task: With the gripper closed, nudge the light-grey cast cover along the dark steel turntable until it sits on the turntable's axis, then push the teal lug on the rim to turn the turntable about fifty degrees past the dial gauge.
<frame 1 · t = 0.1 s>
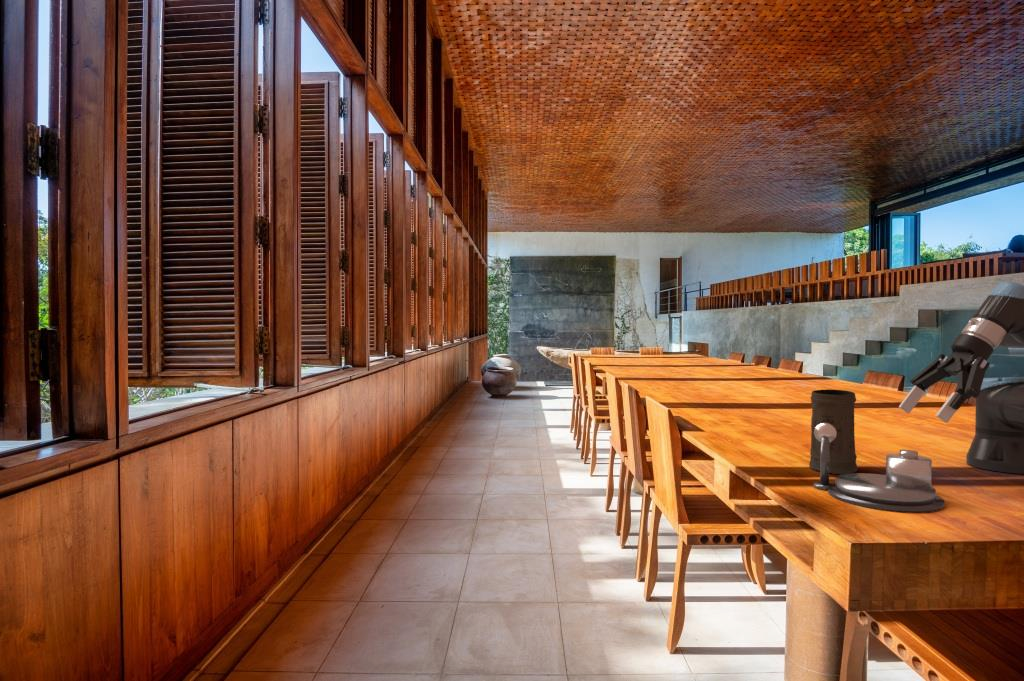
hand: (921, 414, 142), 15 cm above the table, tool tilted 35°, fingers open, 13 cm apart
beer stein: (833, 469, 153), on the table
turntable: (888, 477, 128), point 4 cm above the table, hinge at 0.0°, touching cast cover
cast cover: (908, 484, 127), point 3 cm above the table, touching turntable
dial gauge: (824, 487, 135), on the table
base plate: (883, 497, 127), on the table
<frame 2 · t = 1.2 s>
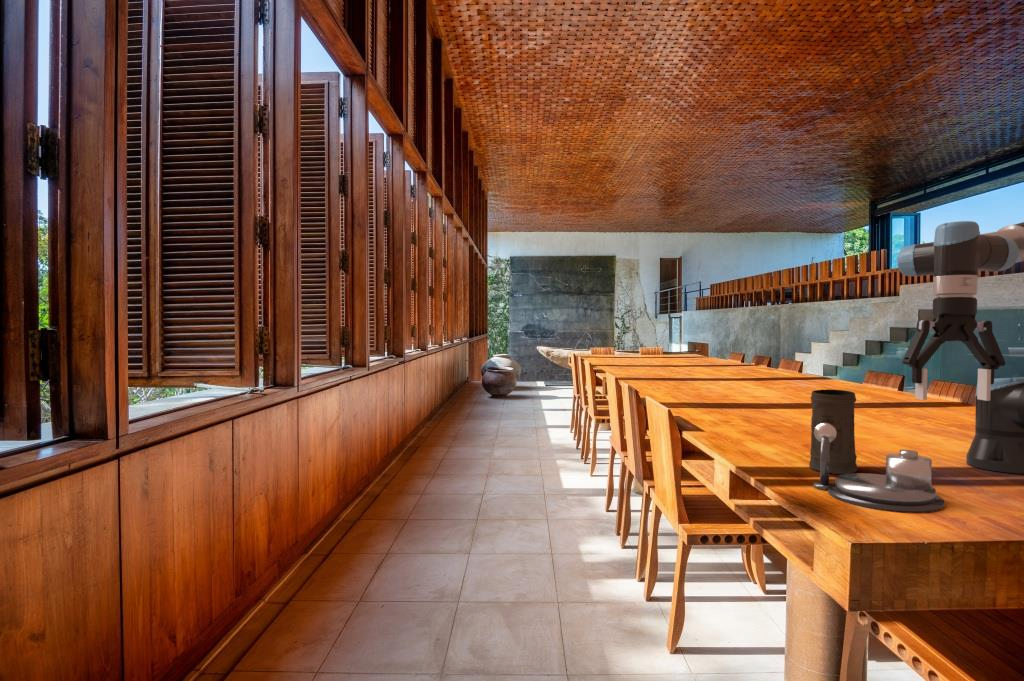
hand: (952, 399, 126), 21 cm above the table, tool pointing down, fingers open, 12 cm apart
nothing on the table moved.
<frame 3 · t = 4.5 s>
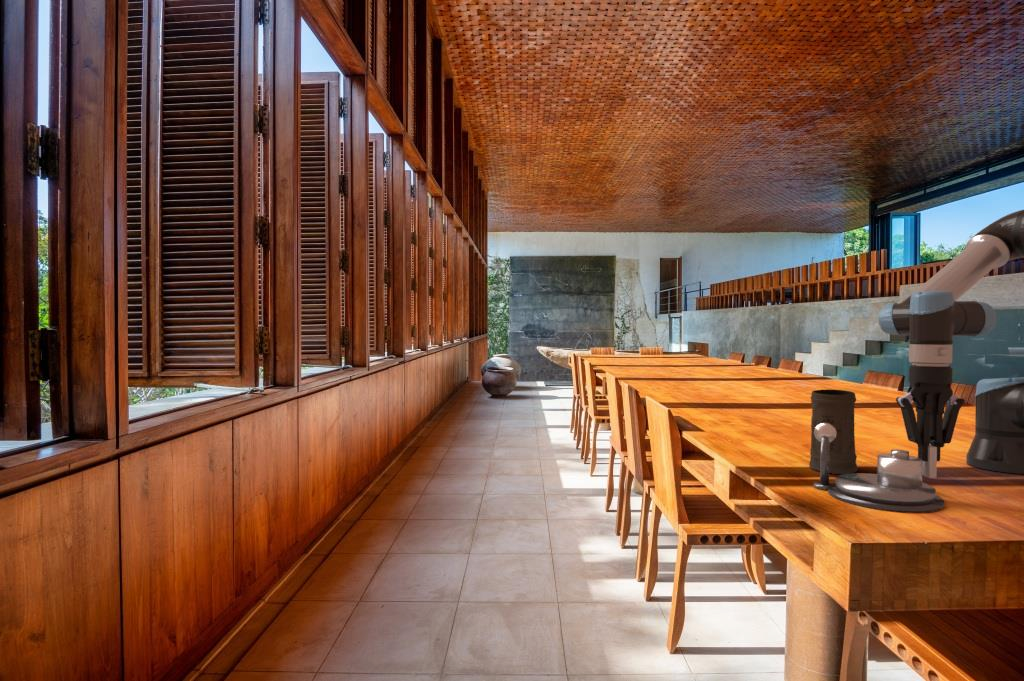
hand: (928, 476, 127), 5 cm above the table, tool pointing down, fingers closed
turntable: (888, 477, 128), point 4 cm above the table, hinge at -0.1°
cast cover: (899, 483, 127), point 3 cm above the table, touching gripper
everything else where it was.
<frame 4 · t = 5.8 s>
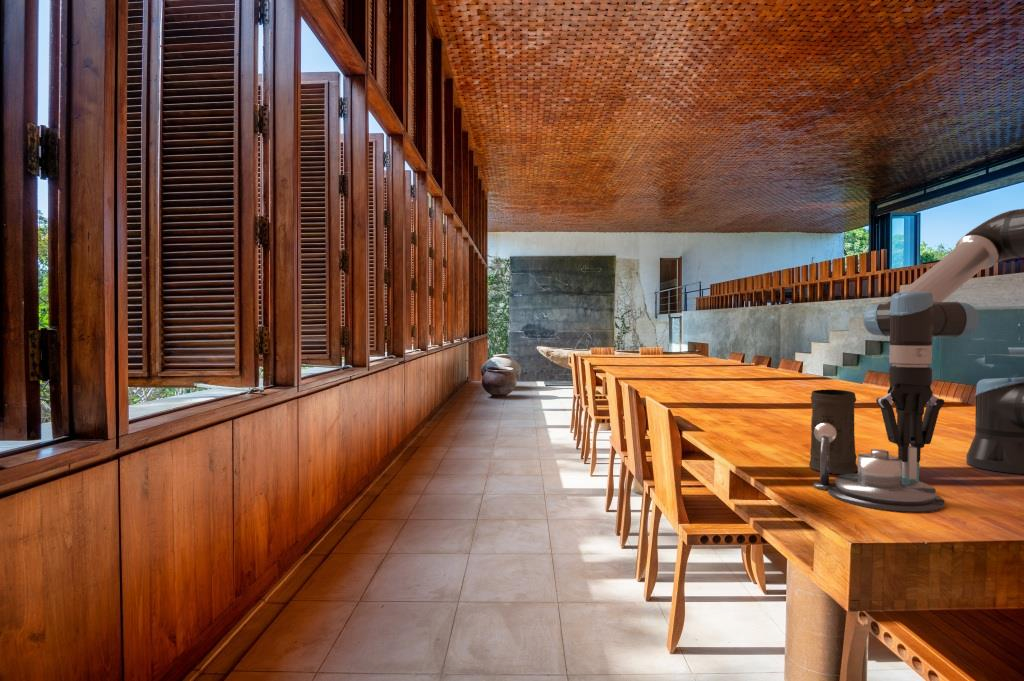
hand: (908, 477, 127), 4 cm above the table, tool pointing down, fingers closed
turntable: (888, 477, 128), point 4 cm above the table, hinge at -0.2°, touching cast cover
cast cover: (879, 483, 127), point 3 cm above the table, touching gripper, turntable
everything else where it was.
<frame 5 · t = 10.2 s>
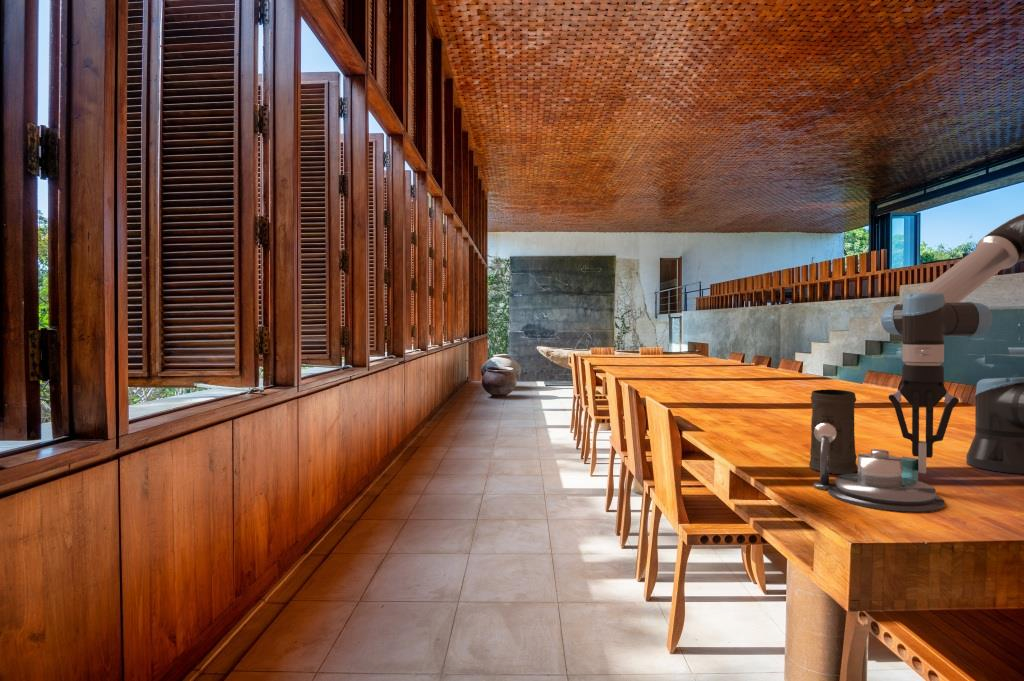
hand: (922, 471, 131), 4 cm above the table, tool pointing down, fingers closed
turntable: (887, 477, 128), point 4 cm above the table, hinge at 0.9°, touching cast cover, gripper
cast cover: (879, 483, 127), point 3 cm above the table, touching turntable
everything else where it was.
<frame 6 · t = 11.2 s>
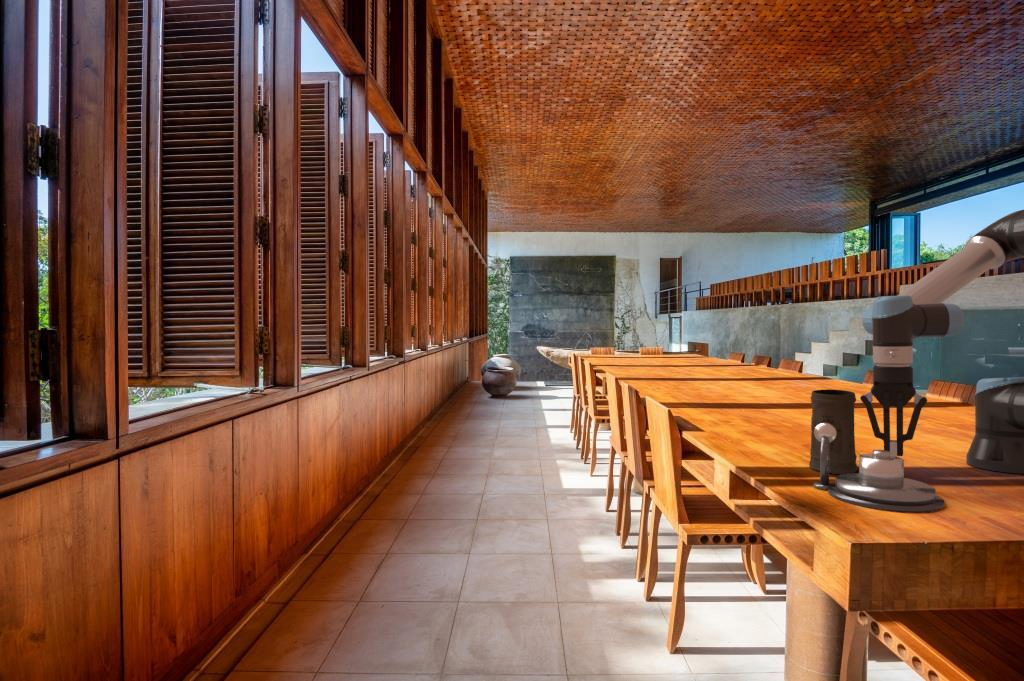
hand: (893, 469, 135), 4 cm above the table, tool pointing down, fingers closed
turntable: (883, 477, 129), point 4 cm above the table, hinge at 28.0°, touching cast cover, gripper
everything else where it was.
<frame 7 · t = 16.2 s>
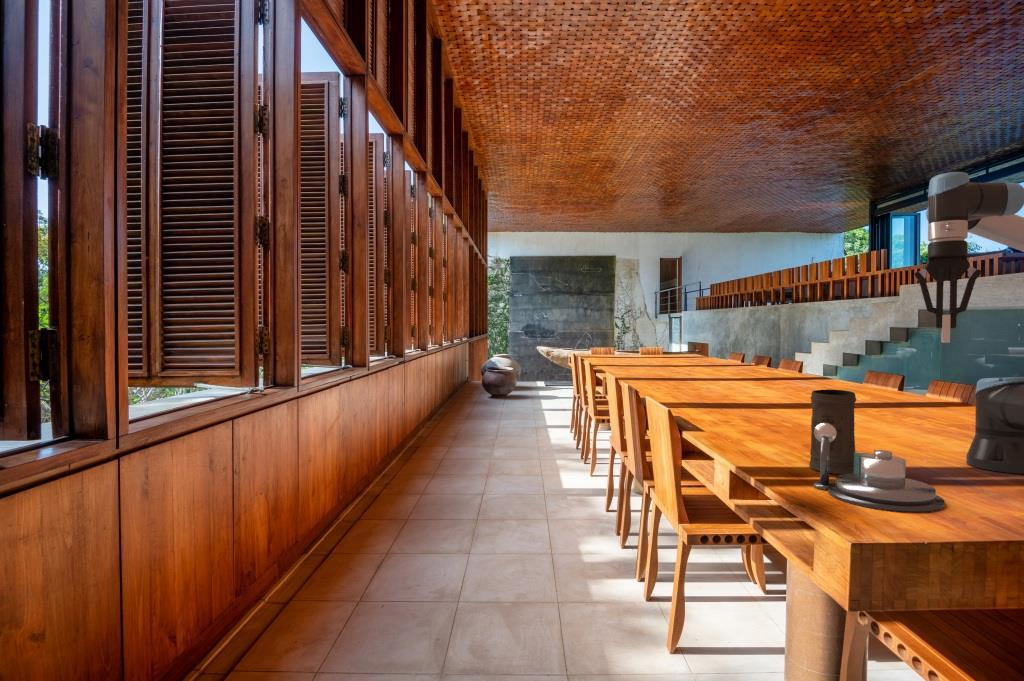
hand: (945, 342, 140), 32 cm above the table, tool pointing down, fingers closed
turntable: (880, 476, 129), point 4 cm above the table, hinge at 48.2°, touching cast cover
everything else where it was.
at the end: cast cover 0.9 cm from the turntable (horizontally); turntable at +48° (first picture: +0°); cast cover tilted 0° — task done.
